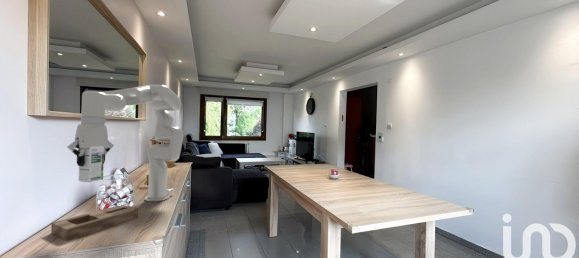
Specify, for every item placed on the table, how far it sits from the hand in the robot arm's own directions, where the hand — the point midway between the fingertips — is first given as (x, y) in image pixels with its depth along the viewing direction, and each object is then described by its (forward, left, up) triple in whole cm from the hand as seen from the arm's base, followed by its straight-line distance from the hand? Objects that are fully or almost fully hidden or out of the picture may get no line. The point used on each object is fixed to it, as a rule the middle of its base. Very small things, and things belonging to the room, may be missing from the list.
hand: (91, 164), depth 99 cm
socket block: (-3, 0, -26) cm, 26 cm away
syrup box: (0, 0, -7) cm, 7 cm away
